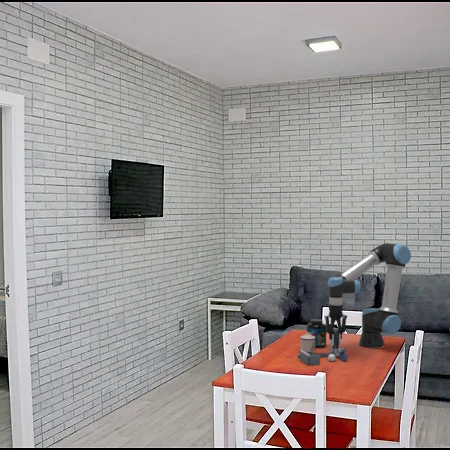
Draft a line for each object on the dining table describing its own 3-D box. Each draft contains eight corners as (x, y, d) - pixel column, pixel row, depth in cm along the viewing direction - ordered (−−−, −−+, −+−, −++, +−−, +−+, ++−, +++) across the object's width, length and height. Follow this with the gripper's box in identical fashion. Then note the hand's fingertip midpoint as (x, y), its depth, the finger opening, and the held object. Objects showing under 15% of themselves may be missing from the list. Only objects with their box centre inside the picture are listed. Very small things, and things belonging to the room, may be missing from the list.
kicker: (338, 354, 350) (338, 329, 350) (350, 360, 336) (350, 334, 336) (329, 355, 349) (329, 330, 348) (340, 361, 335) (340, 335, 334)
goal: (311, 359, 339) (311, 349, 339) (320, 364, 328) (320, 354, 328) (300, 360, 337) (300, 350, 337) (307, 365, 326) (308, 354, 326)
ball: (333, 360, 339) (333, 353, 339) (336, 361, 335) (336, 354, 335) (326, 360, 338) (326, 353, 338) (329, 362, 334) (329, 355, 334)
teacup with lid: (314, 354, 351) (314, 334, 351) (298, 353, 354) (299, 333, 354) (317, 350, 363) (317, 330, 363) (302, 349, 365) (302, 330, 365)
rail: (340, 355, 350) (340, 352, 350) (342, 356, 348) (342, 352, 348) (297, 358, 343) (297, 354, 343) (298, 358, 341) (298, 355, 341)
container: (326, 344, 379) (326, 318, 378) (326, 349, 367) (326, 322, 366) (307, 343, 381) (307, 317, 380) (306, 348, 369) (306, 322, 368)
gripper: (346, 303, 353) (345, 342, 353) (319, 304, 348) (319, 344, 349) (352, 304, 345) (351, 345, 346) (325, 305, 341) (324, 347, 342)
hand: (335, 344), depth 347 cm, fingers closed on kicker, 4 cm apart
